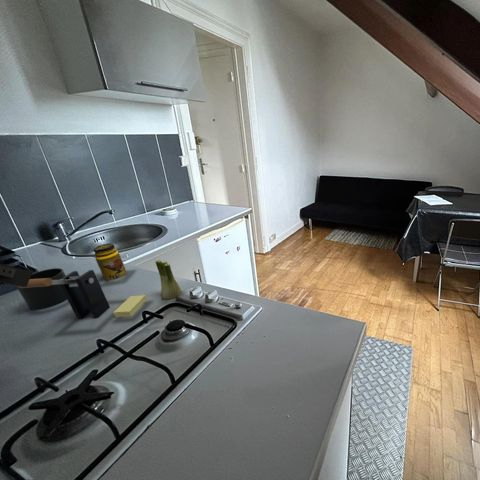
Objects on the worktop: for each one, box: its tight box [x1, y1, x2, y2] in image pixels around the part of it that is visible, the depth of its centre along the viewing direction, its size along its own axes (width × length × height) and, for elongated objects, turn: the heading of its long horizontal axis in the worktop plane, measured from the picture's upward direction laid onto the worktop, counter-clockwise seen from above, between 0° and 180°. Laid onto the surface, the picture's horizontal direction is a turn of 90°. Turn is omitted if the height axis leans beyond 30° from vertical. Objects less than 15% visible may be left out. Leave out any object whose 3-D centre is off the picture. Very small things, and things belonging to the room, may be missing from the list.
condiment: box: [92, 243, 128, 281], centre depth 84 cm, size 7×8×12 cm
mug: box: [15, 267, 68, 311], centre depth 74 cm, size 9×12×9 cm
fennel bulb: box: [155, 259, 182, 301], centre depth 71 cm, size 6×5×12 cm
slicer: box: [59, 269, 111, 320], centre depth 65 cm, size 12×9×13 cm
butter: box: [112, 294, 148, 318], centre depth 68 cm, size 7×4×3 cm, turn 2°
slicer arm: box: [16, 275, 81, 288], centre depth 59 cm, size 12×6×2 cm, turn 1°
